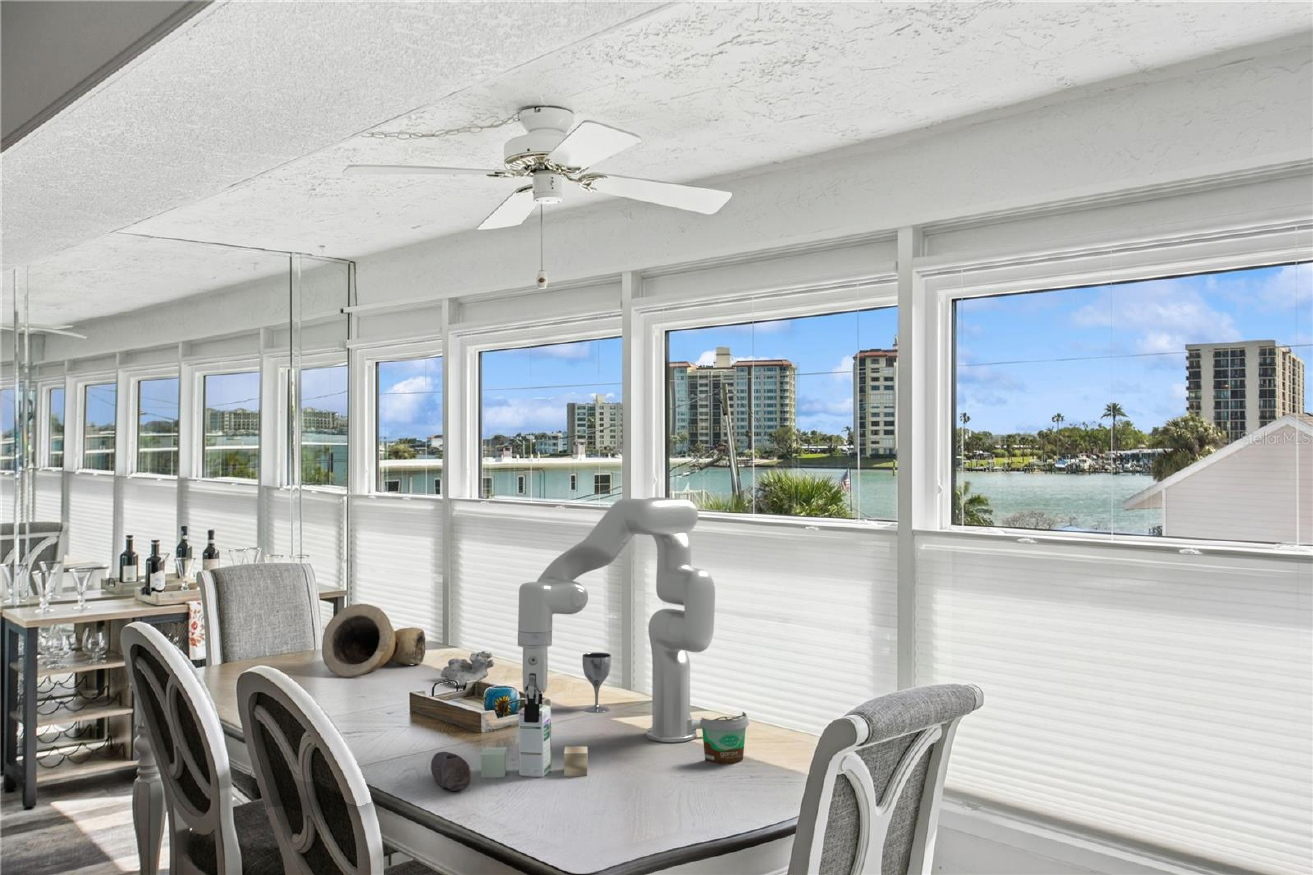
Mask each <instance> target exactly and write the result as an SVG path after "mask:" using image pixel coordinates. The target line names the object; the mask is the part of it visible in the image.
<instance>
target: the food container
mask: <svg viewBox="0 0 1313 875" xmlns="http://www.w3.org/2000/svg"><path fill="white" fill-rule="evenodd" d="M741 714H742V715H738V716H720V717H718V718H714V719H708V718H705V717H701V718H700V719H699V720H700V726H699V727H702V729H701V732H702V740H703V741H702V743H703V750H704V751H703V752H704V753H703V754H704V761H705V762H707V763H711V764H714V765H715V764H717V765H733V764H737V763H740V762H742V761H743V759H744V753H745V752H744V751H745V740H746V728H747V727H749V725H750V723H749V719H748V716H747V713H746V712H744V711H742V713H741Z"/></svg>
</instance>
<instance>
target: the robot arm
mask: <svg viewBox="0 0 1313 875" xmlns="http://www.w3.org/2000/svg"><path fill="white" fill-rule="evenodd" d="M698 511H699V510H698V508H697V507H696V505H695V504H694V503H693V502H692V501H691V500H689V499H686V498H680V497H679V498H678V497H677V498H675V497H663V496H662V497H658V496H656V497H655V496H654V497H648V498H630V497H629V498H621V499H618V500H617V501H616V502H614V503H613V504H612V506H611V507H610V508H609V509H608V510H607V512H606V513H604V515H603V516H602V518H600V520H599V521H598V522H597V523H596V525H595V526H594V527H593V529H592V530H591V531H590V532H589V533H588V535H587V536H586V537H585V538H584V540H582V541H581V542H578V543H577V544H575V545H574V546H572V547H571V548H569V549H567V550H566V551H565V552H563V553H562V554H560V555H559V556H558V557H556V558H555V559H554V560H552V562H551V563H549V565H548V566H547V567H546V568H545V569H544V570H543V572H542V573H541V575H539V577H538V578H537V580H536V581H530V582H524V583H522V584H521V585H520V586H519V588H518V622H517V623H518V626H517V646H518V647H520V648H522V690H523V691H522V692H524V694H525V702H524V705H523V708H524V722H525V723H538V722H539V704H543V694H545V692H546V691H547V688H548V662H549V661H548V659H549V657H548V648H550V647H551V646H553V615H555V614H556V615H557V614H558V615H575V614H577V613H579V612H581V611H583V609H584V608H585V607H586V606H587V604H588V600H589V594H588V590H587V589H586V588H585V586H584V585H583V584H581V583H579V582H578V581H574V580H576V579H578V578H579V577H580V576H582V575H584V574H587V573H588V572H592V571H594V570H598V569H601V568H604V567H607V566H608V565H611V564H612V563H613V562H614V561H615V560H616V559H617V558H618V556H619V554H620V553H621V552H622V551H623V549H624V548H625V547H626V546H627V544H629V542H630V540H631V539H632V537H633V536H634V535H644V536H645V535H646V536H652V537H653V539H654V542H655V545H656V551H657V552H656V556H657V559H656V577H655V578H656V582H655V585H656V586H655V587H656V588H655V589H656V595H657V597H658V598H659V599H660V601H662V602H664V603H666V604H667V603H668V604H671V605H672V604H673V605H677V606H684V608H683V609H684V610H683V609H676V608H663V609H659V610H657V611H656V612H654V613H653V614H652V615H651V617H650V619H649V621H648V626H647V627H648V628H647V630H648V638H649V643H650V644H649V645H650V647H651V648H650V649H651V658H652V659H651V660H652V666H651V667H652V676H651V677H652V678H651V679H652V680H651V681H652V686H651V688H652V690H651V691H652V694H651V695H652V697H651V698H652V699H651V700H652V701H651V702H652V703H651V704H652V710H651V711H652V714H651V715H652V716H651V717H652V720H651V721H652V726H651V727H649V728H647V729H646V732H645V736H646V737H647V738H648V739H649V740H652V741H656V742H661V743H684V742H687V741H690V740H693V739H695V738H696V737H697V730H702V727H699V726H700V720H701V719H694V718H692V715H691V664H690V658H689V655H688V652H689V653H702V652H704V651H706V650H707V649H708V648H709V647H710V645H711V643H712V640H713V637H714V632H715V630H714V629H715V610H716V607H715V605H716V588H715V582H714V580H713V578H712V576H711V575H710V573H708V572H707V571H706V570H705V569H701V568H696V567H692V564H691V562H692V560H691V559H692V554H691V553H692V552H691V550H692V549H691V542H690V539H689V537H688V535H687V533H689V532H690V531H692V530H693V529H694V528H695V526H696V525H697V522H698V520H699V512H698Z"/></svg>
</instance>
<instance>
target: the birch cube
mask: <svg viewBox="0 0 1313 875" xmlns="http://www.w3.org/2000/svg"><path fill="white" fill-rule="evenodd" d="M587 776H588V746H565V747H564V752H563V777H587Z"/></svg>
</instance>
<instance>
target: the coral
mask: <svg viewBox="0 0 1313 875" xmlns="http://www.w3.org/2000/svg"><path fill="white" fill-rule="evenodd" d="M492 657H493V654H492V652H486V651H485V650H484V651H480V652H477V653H474V652H471V654H470V656H469V661H468V660H467V659H465V658H464V659H463V658H462V659H461V658H460V659H459V658H451V659H449V660H448V662H447V664H448V666H444V667H443V668H442V672H441V674H440V677H441V678H445V679H447V680H448V679H453V680H458V681H459V686H458V687H463V686H466V685H465V683H466V682H467V681H471V680H479V681H481V680H482V679H486V678H487V677H488V676H489V671H488V669H491V668H493V667H494V665H495V662H494V661H493V659H491V658H492ZM451 684H452V686H453V687H456V686H455V683H453V682H452V683H451Z"/></svg>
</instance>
